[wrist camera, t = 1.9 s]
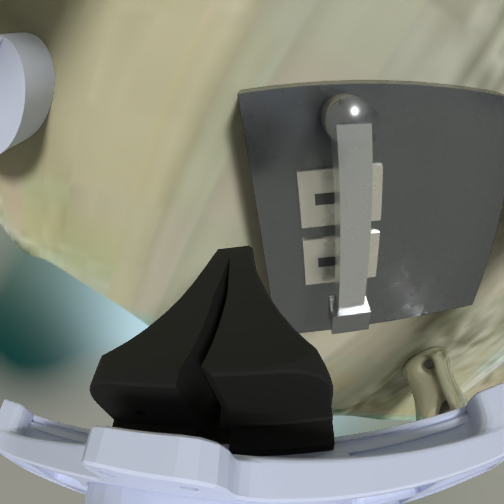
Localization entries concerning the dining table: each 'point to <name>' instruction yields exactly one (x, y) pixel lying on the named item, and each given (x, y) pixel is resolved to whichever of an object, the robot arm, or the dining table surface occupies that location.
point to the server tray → (378, 194)
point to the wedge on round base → (23, 87)
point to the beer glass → (433, 383)
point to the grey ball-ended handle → (351, 206)
